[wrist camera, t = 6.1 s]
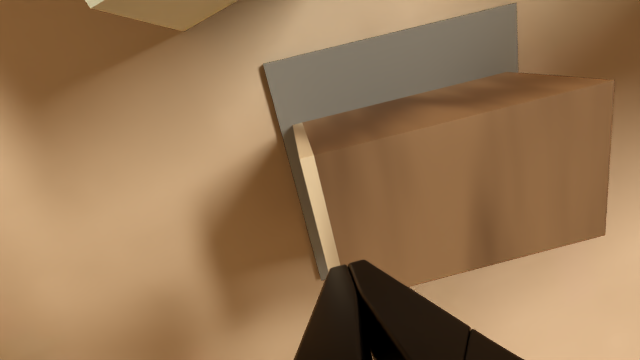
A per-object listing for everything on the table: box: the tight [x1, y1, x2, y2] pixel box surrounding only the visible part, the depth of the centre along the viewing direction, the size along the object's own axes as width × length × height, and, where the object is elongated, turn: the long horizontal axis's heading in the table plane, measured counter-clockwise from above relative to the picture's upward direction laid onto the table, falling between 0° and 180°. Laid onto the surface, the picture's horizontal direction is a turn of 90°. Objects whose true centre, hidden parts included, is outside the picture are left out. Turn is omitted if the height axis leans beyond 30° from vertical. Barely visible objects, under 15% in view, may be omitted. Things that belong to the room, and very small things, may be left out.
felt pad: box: [263, 3, 518, 281], centre depth 15 cm, size 10×10×1 cm
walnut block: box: [293, 72, 615, 287], centre depth 13 cm, size 5×5×9 cm
